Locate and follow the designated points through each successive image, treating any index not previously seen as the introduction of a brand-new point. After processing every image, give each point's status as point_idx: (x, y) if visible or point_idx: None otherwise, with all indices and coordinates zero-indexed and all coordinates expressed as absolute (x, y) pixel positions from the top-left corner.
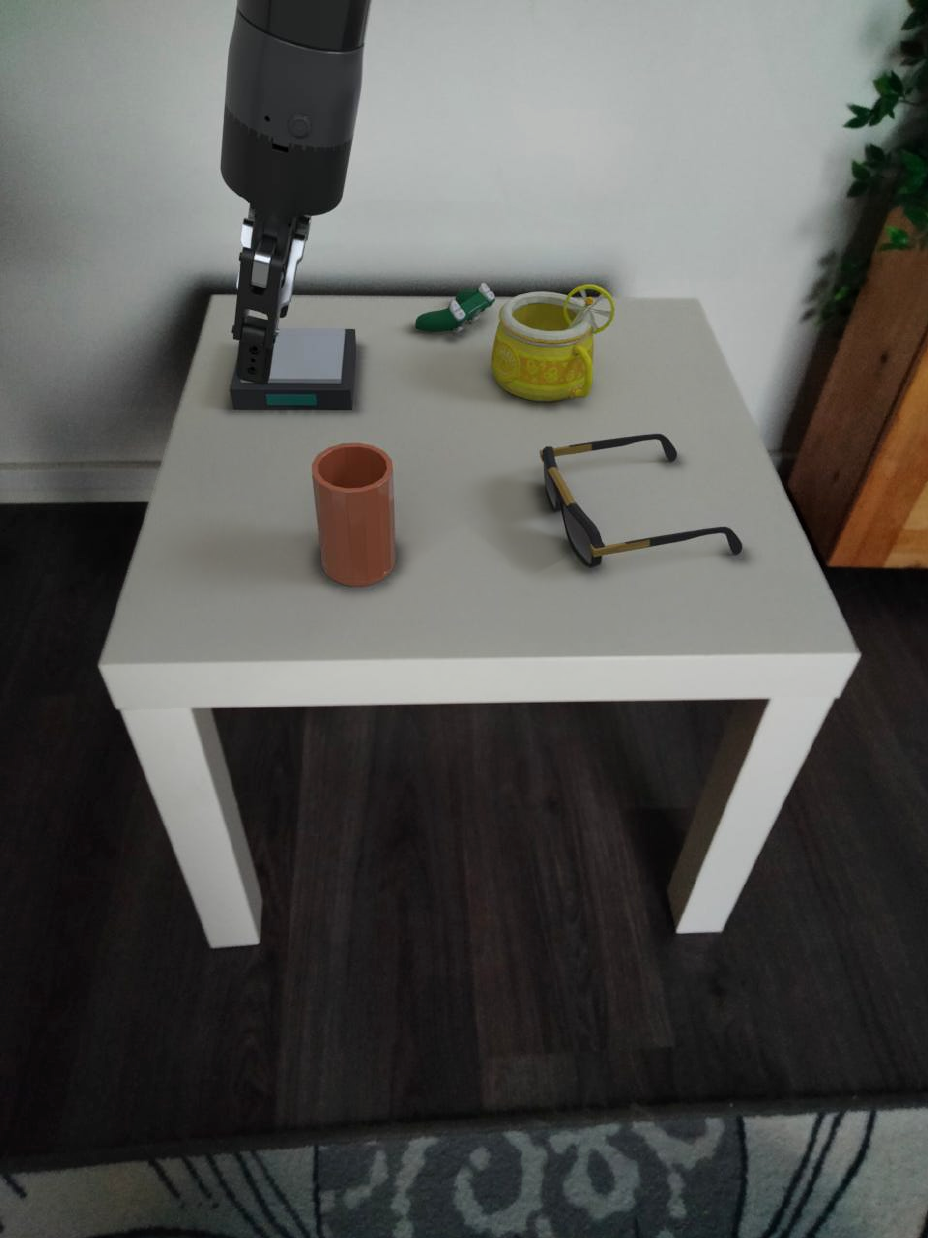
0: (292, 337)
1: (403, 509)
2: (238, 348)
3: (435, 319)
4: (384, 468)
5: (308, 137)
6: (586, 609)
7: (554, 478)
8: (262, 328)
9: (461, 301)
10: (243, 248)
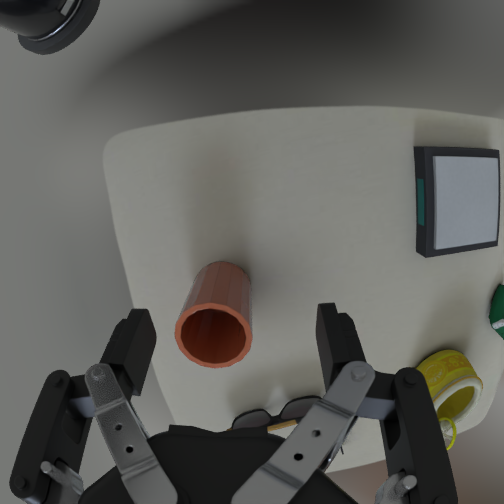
0: (487, 196)
1: (288, 312)
2: (118, 340)
3: (498, 305)
4: (230, 354)
5: None
6: (203, 413)
7: (284, 423)
8: (69, 415)
9: None
10: (16, 496)
